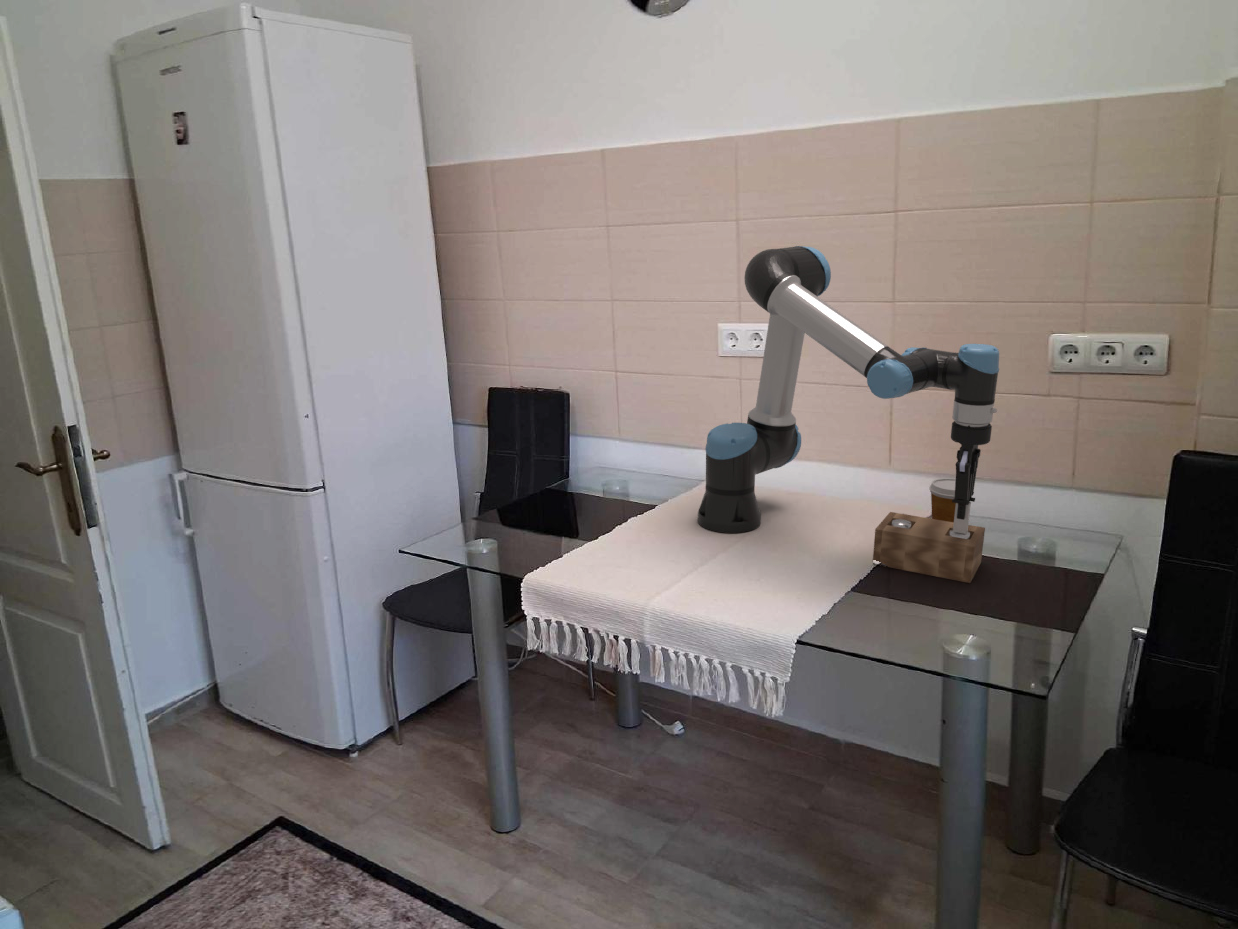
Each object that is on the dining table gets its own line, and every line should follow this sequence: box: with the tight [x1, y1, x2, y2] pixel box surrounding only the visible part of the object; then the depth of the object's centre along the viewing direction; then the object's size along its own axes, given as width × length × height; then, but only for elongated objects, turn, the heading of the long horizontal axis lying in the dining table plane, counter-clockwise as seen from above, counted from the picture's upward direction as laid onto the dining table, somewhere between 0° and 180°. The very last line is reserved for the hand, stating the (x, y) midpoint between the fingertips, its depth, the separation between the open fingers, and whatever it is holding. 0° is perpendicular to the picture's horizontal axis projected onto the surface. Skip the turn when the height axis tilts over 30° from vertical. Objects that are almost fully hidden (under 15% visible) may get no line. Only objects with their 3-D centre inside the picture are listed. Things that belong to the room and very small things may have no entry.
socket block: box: [872, 511, 986, 584], centre depth 194 cm, size 20×12×8 cm, turn 59°
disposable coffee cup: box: [928, 477, 956, 522], centre depth 210 cm, size 10×10×12 cm
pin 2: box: [949, 530, 970, 539], centre depth 191 cm, size 4×4×7 cm
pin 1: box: [892, 519, 911, 529], centre depth 197 cm, size 4×4×7 cm
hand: (960, 531), depth 190 cm, fingers closed
